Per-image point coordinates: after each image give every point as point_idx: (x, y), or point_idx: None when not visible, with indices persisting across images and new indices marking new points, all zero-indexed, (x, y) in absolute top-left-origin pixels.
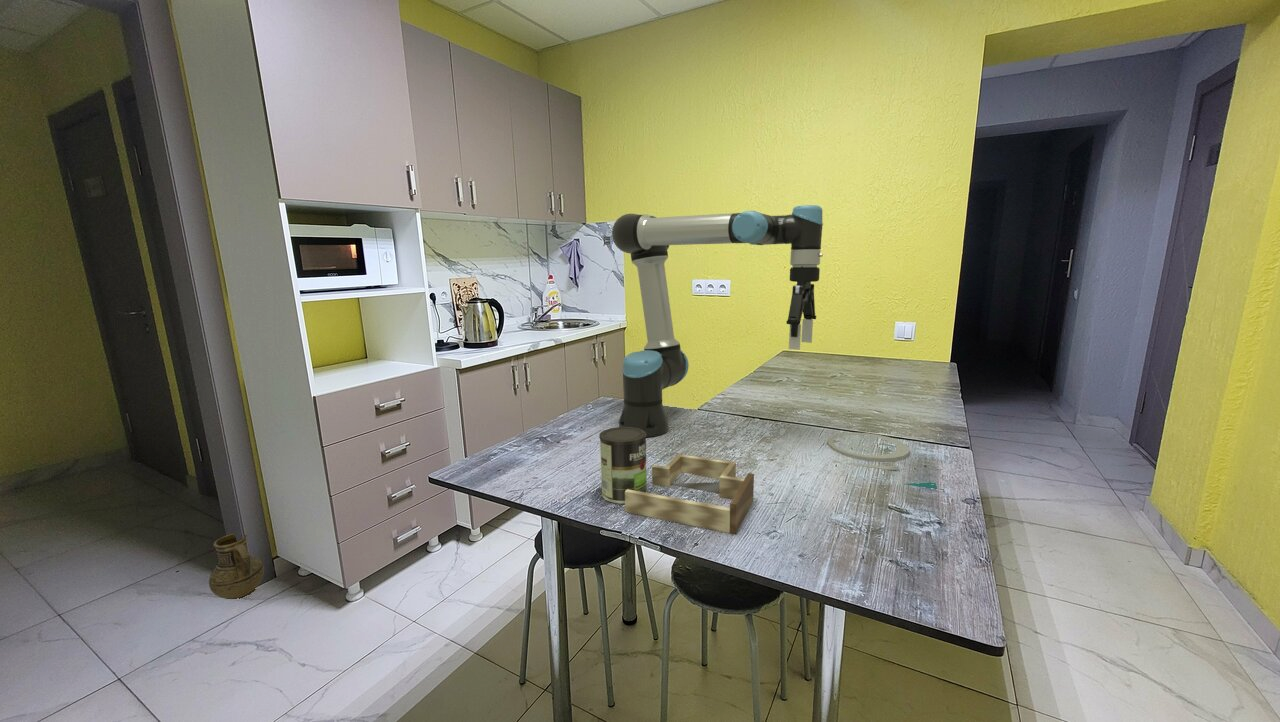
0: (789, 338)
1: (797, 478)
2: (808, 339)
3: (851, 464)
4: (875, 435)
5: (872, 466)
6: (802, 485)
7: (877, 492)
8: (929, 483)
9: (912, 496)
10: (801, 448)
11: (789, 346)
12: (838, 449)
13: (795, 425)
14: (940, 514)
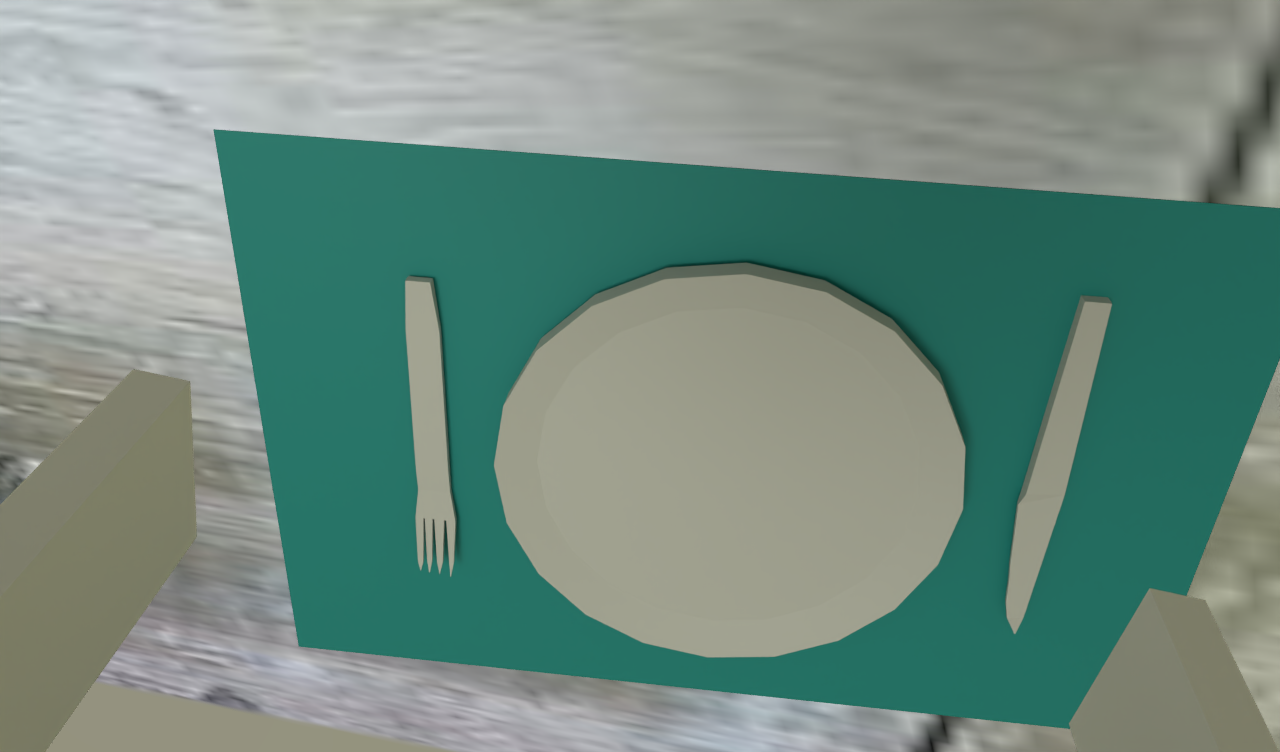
0: (7, 505)
1: (85, 76)
2: (1104, 737)
3: (413, 370)
4: (932, 547)
5: (426, 462)
6: (6, 106)
7: None
8: (341, 633)
9: None
10: (625, 88)
11: (105, 408)
12: (608, 326)
13: (1230, 23)
14: None
